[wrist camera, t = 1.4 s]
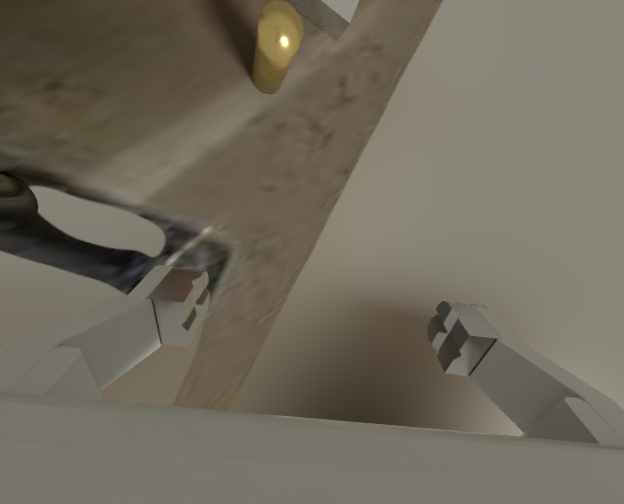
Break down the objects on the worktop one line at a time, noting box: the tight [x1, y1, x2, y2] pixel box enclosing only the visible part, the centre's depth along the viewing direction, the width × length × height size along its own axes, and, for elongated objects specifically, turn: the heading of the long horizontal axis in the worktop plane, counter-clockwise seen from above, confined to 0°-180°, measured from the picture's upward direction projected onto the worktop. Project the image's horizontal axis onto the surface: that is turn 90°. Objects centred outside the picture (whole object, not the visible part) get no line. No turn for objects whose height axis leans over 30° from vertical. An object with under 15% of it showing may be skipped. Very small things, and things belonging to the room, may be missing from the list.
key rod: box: [252, 0, 303, 94], centre depth 26 cm, size 4×4×11 cm
